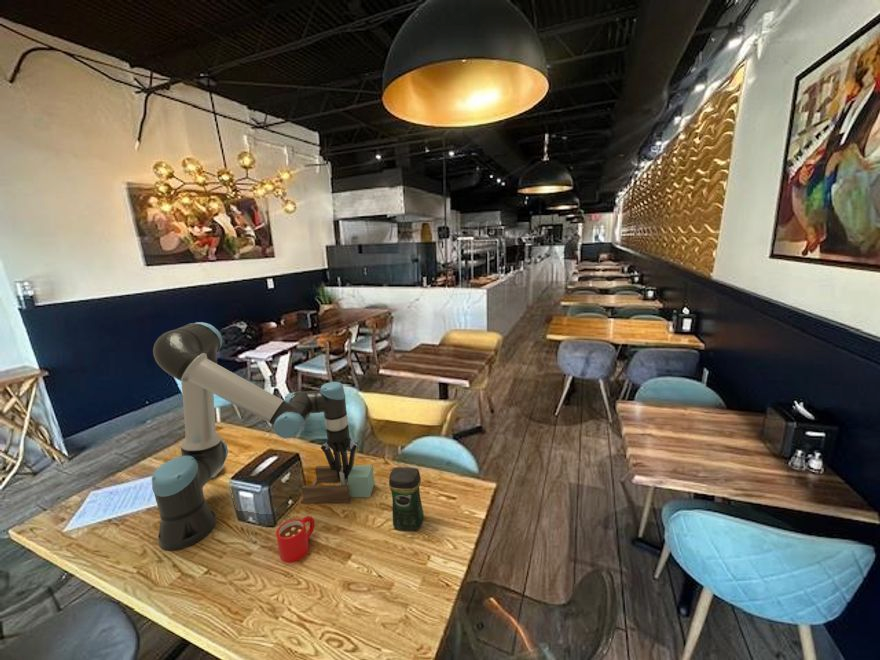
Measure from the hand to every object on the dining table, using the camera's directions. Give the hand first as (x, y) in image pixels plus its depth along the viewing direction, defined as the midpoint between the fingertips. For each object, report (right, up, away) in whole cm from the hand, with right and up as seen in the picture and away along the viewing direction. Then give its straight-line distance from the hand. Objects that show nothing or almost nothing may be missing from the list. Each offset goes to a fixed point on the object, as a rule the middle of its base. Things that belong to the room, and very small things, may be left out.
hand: (344, 486), depth 133 cm
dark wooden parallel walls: (-4, -2, +1) cm, 5 cm away
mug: (-7, -8, -23) cm, 26 cm away
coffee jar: (+24, -5, -16) cm, 30 cm away
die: (-56, -2, +15) cm, 58 cm away
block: (+7, -2, 0) cm, 7 cm away
